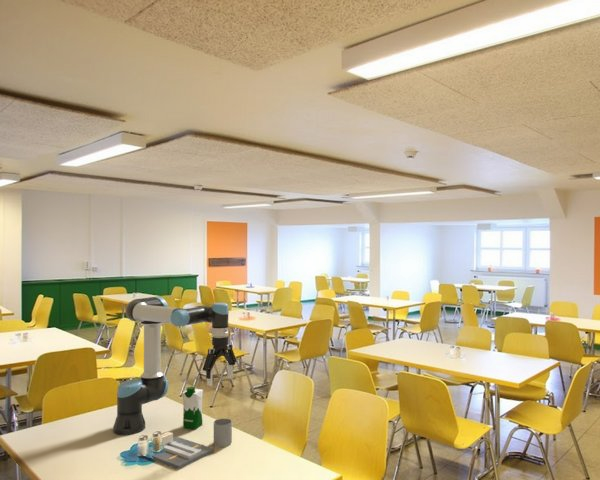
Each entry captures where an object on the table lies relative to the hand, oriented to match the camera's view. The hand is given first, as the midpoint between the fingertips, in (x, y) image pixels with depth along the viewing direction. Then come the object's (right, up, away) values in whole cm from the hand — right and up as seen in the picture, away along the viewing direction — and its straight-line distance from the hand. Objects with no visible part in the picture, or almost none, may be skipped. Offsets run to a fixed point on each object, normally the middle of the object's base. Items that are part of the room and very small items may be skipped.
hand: (220, 382), depth 219 cm
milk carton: (-17, -29, +19) cm, 38 cm away
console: (-17, -28, -13) cm, 35 cm away
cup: (+1, -28, -2) cm, 28 cm away
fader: (-23, -26, -8) cm, 36 cm away
